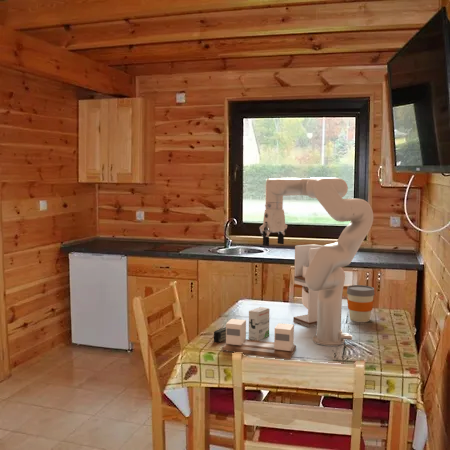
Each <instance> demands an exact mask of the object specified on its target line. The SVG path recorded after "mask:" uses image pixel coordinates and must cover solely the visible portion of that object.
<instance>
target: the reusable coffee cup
mask: <svg viewBox="0 0 450 450" xmlns="http://www.w3.org/2000/svg"><path fill="white" fill-rule="evenodd" d="M346 294H347V308H348V312H349V320H350V321H353V322H358V323H366V322H369V321H370V320H371V319H370V318H371V313H372V311H373V308H374V302H375V301H374V297H375V296H376V295H375V294H376V293H375V288H374V287H373V286H370V285H365V284H364V285H363V284H353V285H348V286H347V289H346Z"/></svg>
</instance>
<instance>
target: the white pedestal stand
mask: <svg viewBox="0 0 450 450" xmlns="http://www.w3.org/2000/svg"><path fill="white" fill-rule="evenodd" d="M322 246H323V245H320V244H314V243H313V244H302V245H301V244H300V245H295V246H294V272H293V273H294V275H293V276H294V277H293V278H294V280H293V281H294V282H293V283H294V284H296V285H299V286H302V287H301V288H302V290H301V304H302V305H303V306H304V308H306V309H307V314H304V315H303V314H302V315H297V316H293V319H292V320H293V322H294V323H296V324H300V325H302V326H305V327H307V328H311V327H317V309H318V294H319V291H314V290H311V289H309V288H308V286H307V285H306V282H305V275H306V272H307V269H308V267H309V266H310V264H311V262H312V260H313V258H314V256H315V254H316V252H317V251H318V250H319V249H320V248H321V247H322Z"/></svg>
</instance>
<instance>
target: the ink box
mask: <svg viewBox="0 0 450 450" xmlns="http://www.w3.org/2000/svg"><path fill="white" fill-rule="evenodd" d="M267 337H270V307H263V306H262V307H261V306H258V307H257V308H254V309H251V310H248V339H249V340H257V341H262V339H264V338H267Z"/></svg>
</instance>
